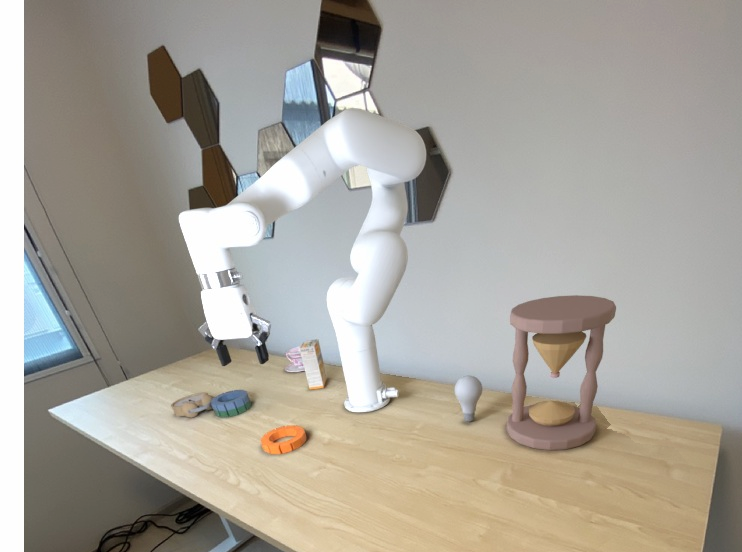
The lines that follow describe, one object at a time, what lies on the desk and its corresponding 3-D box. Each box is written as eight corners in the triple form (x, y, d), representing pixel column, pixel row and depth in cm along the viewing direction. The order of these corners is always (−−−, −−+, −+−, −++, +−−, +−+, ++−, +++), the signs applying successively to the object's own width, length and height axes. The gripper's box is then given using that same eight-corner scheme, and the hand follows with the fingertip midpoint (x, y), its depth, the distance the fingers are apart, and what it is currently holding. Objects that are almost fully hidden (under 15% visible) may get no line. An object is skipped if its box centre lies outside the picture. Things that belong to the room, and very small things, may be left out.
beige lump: (198, 391, 132) (217, 390, 122) (205, 405, 135) (224, 406, 124) (164, 404, 126) (182, 405, 116) (172, 419, 128) (190, 421, 118)
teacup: (322, 359, 151) (318, 343, 148) (311, 371, 142) (307, 354, 138) (292, 362, 154) (288, 345, 150) (280, 374, 144) (275, 356, 141)
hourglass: (600, 415, 89) (621, 293, 75) (588, 456, 77) (610, 320, 63) (518, 408, 98) (523, 296, 84) (496, 444, 86) (498, 321, 72)
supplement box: (324, 388, 127) (314, 346, 119) (309, 390, 127) (298, 348, 120) (327, 378, 133) (318, 338, 126) (313, 380, 134) (303, 340, 127)
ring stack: (257, 401, 126) (253, 388, 124) (240, 416, 118) (236, 403, 115) (227, 402, 129) (222, 390, 126) (209, 418, 120) (203, 405, 118)
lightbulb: (485, 416, 97) (485, 371, 90) (478, 428, 92) (478, 382, 86) (460, 414, 99) (458, 371, 93) (452, 426, 95) (450, 381, 89)
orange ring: (312, 431, 103) (310, 424, 102) (296, 453, 95) (294, 446, 93) (274, 432, 106) (272, 425, 104) (256, 454, 97) (253, 447, 96)
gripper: (265, 273, 84) (286, 355, 93) (194, 281, 88) (221, 359, 98) (247, 280, 78) (272, 367, 88) (172, 288, 83) (203, 370, 92)
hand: (245, 363), depth 93 cm, fingers open, 9 cm apart
